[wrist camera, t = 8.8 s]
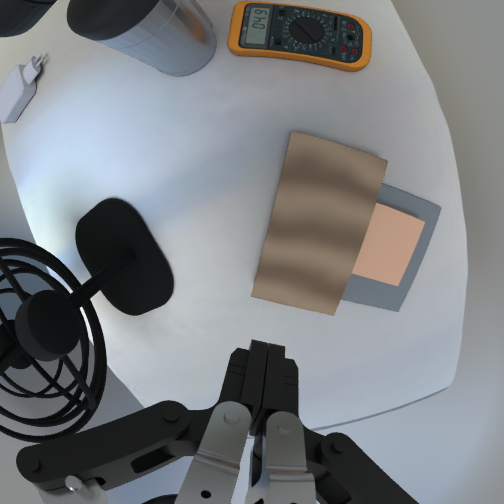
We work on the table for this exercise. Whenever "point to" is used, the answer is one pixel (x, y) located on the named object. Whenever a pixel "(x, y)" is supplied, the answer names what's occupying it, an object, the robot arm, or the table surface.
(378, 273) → the tile
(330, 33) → the multimeter
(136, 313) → the desk fan
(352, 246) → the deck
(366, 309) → the table surface
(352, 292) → the mat
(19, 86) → the charger
